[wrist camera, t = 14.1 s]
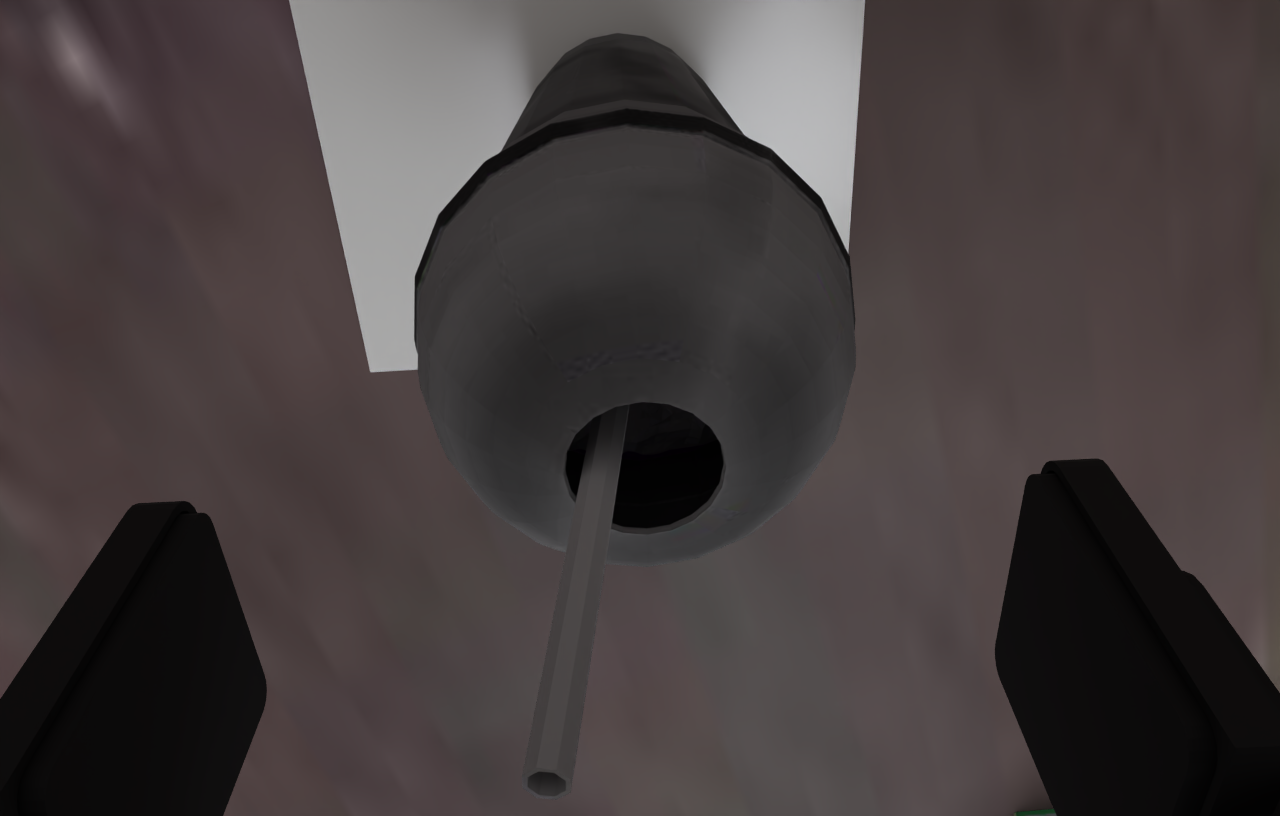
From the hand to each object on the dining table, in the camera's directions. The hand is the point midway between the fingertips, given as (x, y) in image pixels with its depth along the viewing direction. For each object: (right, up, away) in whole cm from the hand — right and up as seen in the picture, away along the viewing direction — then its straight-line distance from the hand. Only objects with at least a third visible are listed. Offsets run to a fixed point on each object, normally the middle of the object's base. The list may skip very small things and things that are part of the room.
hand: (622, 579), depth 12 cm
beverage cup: (0, +10, +15) cm, 18 cm away
